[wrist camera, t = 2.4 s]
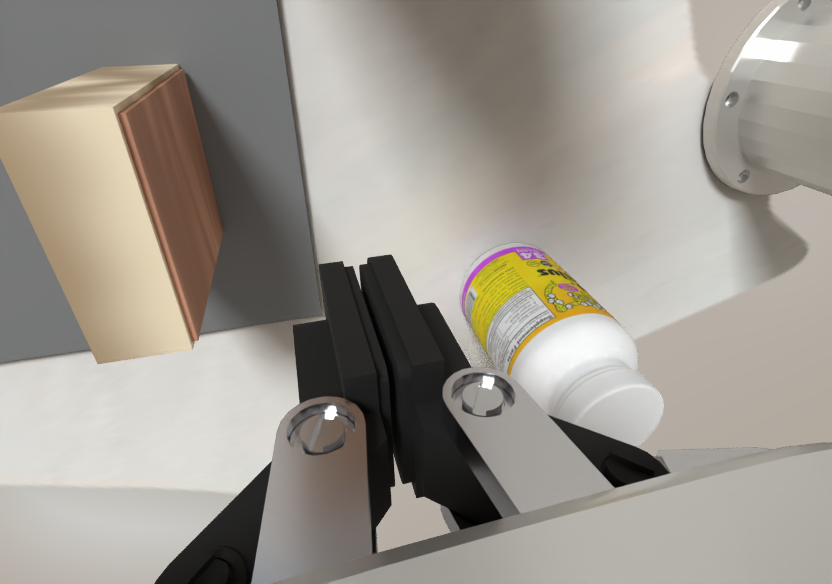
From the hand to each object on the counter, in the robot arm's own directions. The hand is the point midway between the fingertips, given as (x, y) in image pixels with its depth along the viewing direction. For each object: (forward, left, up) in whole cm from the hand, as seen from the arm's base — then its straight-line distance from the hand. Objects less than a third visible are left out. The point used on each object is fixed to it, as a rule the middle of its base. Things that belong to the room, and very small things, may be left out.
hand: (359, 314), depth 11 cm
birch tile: (+7, 0, -15) cm, 17 cm away
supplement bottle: (-11, +10, -16) cm, 22 cm away
